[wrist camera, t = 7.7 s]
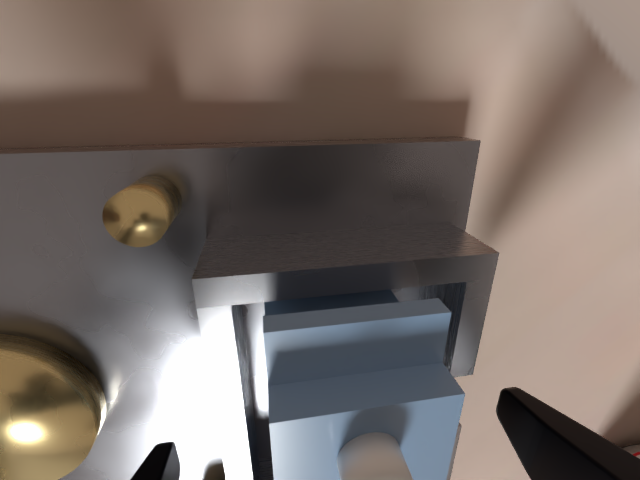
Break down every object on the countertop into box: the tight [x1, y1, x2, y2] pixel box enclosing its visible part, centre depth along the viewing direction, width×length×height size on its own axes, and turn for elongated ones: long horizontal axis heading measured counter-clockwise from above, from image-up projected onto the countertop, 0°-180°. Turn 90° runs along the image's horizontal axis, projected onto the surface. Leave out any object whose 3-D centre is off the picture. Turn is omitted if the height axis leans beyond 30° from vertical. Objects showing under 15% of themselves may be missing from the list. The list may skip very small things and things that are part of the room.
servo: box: [263, 290, 465, 480], centre depth 9 cm, size 8×4×5 cm, turn 0°
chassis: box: [0, 137, 499, 480], centre depth 10 cm, size 14×18×3 cm
